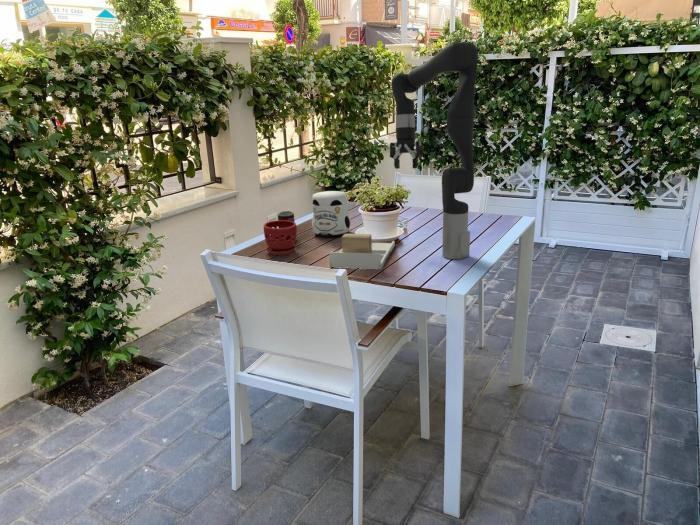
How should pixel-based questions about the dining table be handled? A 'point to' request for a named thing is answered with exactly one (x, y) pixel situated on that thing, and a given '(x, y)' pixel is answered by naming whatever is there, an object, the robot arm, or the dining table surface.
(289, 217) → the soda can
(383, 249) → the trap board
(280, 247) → the plant pot
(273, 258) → the dining table surface
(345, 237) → the oak block
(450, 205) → the robot arm
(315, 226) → the milk container
